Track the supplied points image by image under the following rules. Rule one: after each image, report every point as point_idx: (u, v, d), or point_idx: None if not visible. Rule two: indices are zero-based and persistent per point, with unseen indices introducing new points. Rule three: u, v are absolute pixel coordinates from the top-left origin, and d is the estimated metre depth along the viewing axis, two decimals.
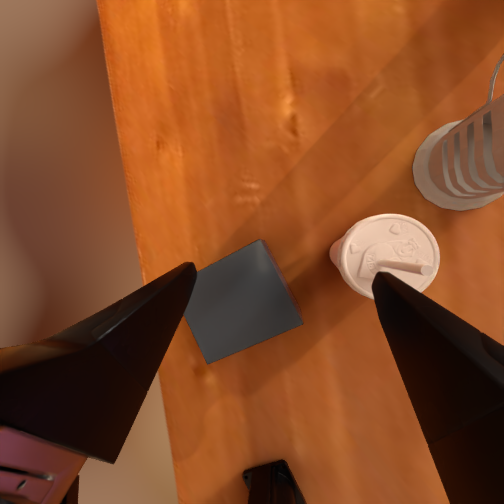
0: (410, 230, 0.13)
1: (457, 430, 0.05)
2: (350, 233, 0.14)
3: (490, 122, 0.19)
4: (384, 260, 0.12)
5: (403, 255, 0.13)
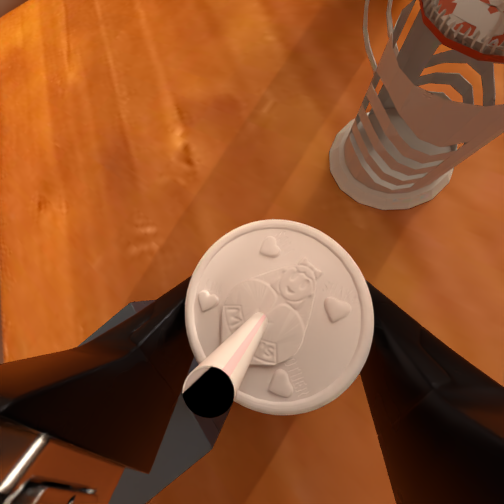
0: (299, 243, 0.07)
1: (396, 419, 0.05)
2: (195, 271, 0.07)
3: None
4: None
5: (294, 297, 0.06)
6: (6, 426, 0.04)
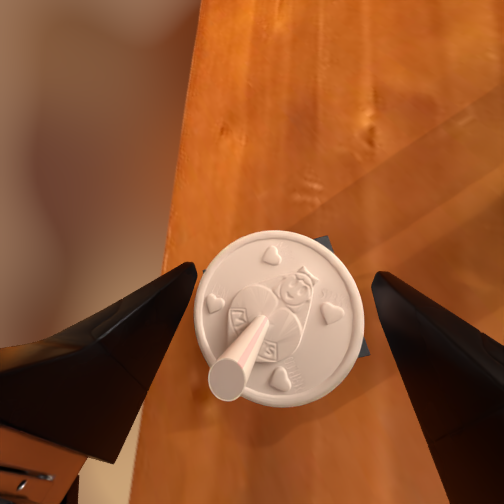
0: (299, 253, 0.07)
1: (458, 430, 0.05)
2: (203, 277, 0.08)
3: None
4: (252, 321, 0.06)
5: (293, 302, 0.07)
6: None
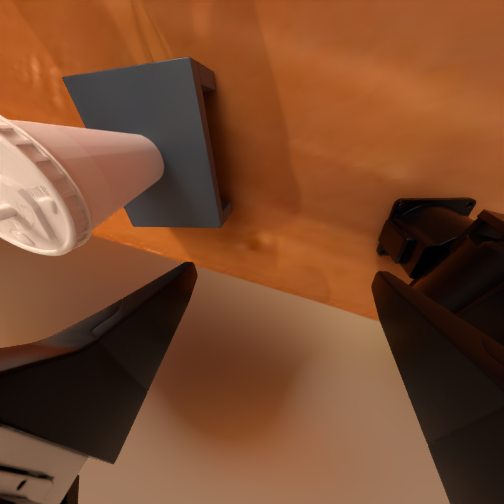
0: None
1: (457, 430, 0.05)
2: (12, 242, 0.10)
3: None
4: None
5: None
6: None
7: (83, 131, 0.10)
